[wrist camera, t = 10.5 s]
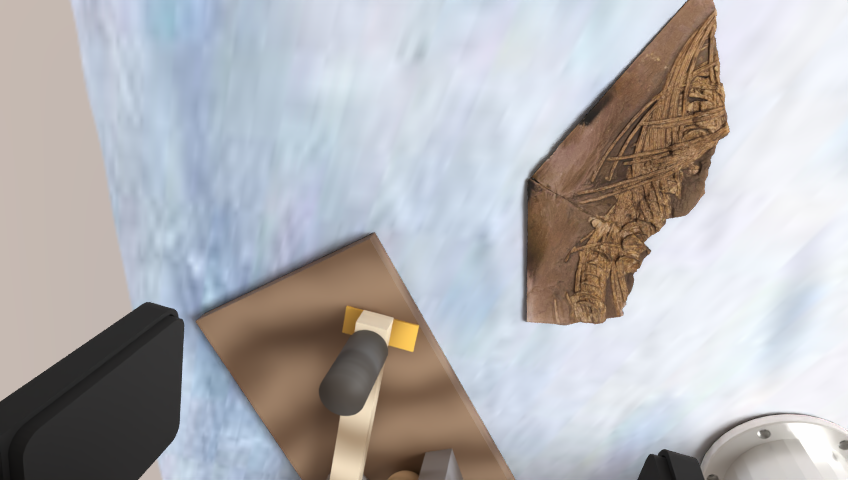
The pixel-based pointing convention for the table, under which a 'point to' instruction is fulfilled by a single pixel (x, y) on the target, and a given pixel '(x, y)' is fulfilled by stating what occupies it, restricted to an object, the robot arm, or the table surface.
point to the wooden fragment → (625, 174)
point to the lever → (356, 392)
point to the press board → (318, 349)
